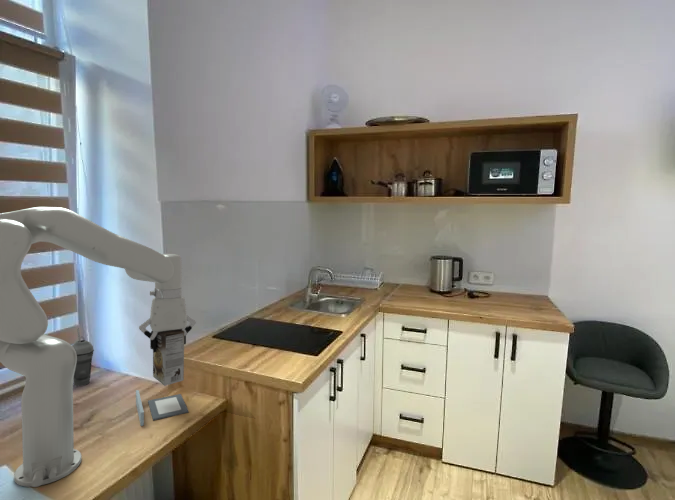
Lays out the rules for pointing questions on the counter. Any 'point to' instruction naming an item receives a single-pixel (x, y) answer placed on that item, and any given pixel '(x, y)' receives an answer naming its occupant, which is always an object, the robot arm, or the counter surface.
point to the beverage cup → (82, 361)
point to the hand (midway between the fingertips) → (168, 348)
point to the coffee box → (169, 357)
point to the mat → (167, 407)
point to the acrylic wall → (139, 408)
